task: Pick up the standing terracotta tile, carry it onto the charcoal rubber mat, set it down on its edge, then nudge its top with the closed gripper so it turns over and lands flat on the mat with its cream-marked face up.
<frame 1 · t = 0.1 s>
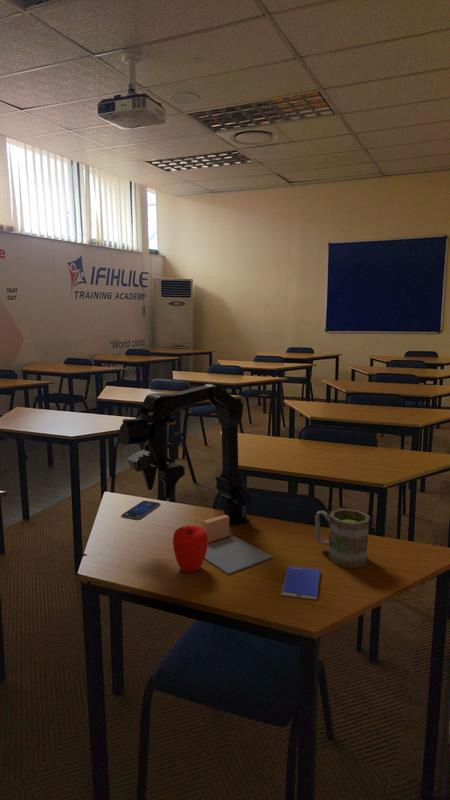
hand: (158, 494, 141), 15 cm above the table, fingers open, 9 cm apart
tile: (216, 538, 147), on the table
apple: (190, 568, 129), on the table
hard drive: (301, 586, 122), on the table
mat: (231, 554, 137), on the table
smartphone: (141, 512, 168), on the table
mug: (339, 556, 137), on the table
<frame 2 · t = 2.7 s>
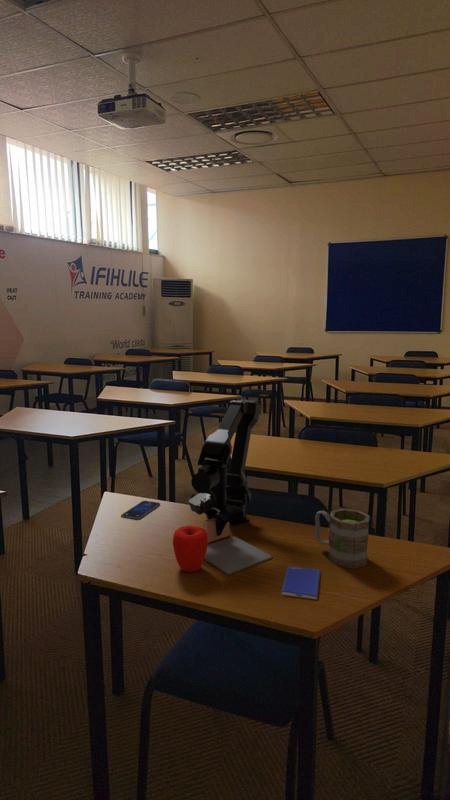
hand: (216, 534, 147), 1 cm above the table, fingers closed on tile, 2 cm apart
tile: (216, 538, 147), on the table, touching gripper
everything else where it was.
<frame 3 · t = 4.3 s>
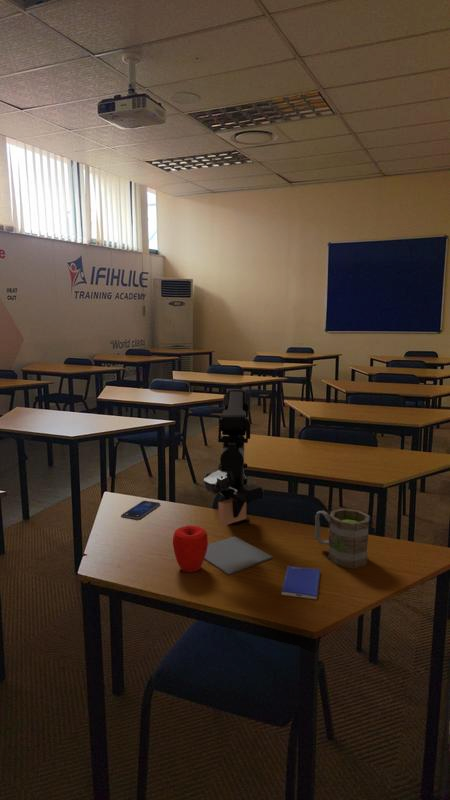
hand: (232, 515, 137), 10 cm above the table, fingers closed on tile, 2 cm apart
tile: (232, 521, 137), point 9 cm above the table, touching gripper
everything else where it was.
when the fingers open (2 cm above the table, at t = 5.8 s): tile stays where it is, resting on mat.
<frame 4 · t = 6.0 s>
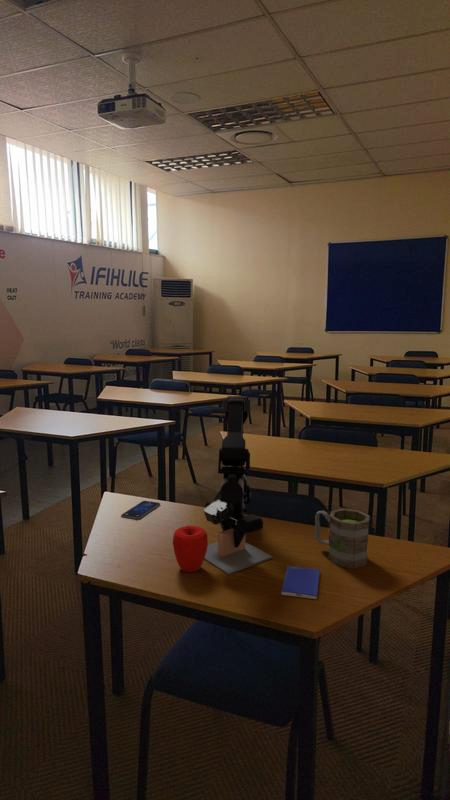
hand: (232, 544, 138), 2 cm above the table, fingers open, 3 cm apart
tile: (231, 551, 138), resting on mat
everything else where it was.
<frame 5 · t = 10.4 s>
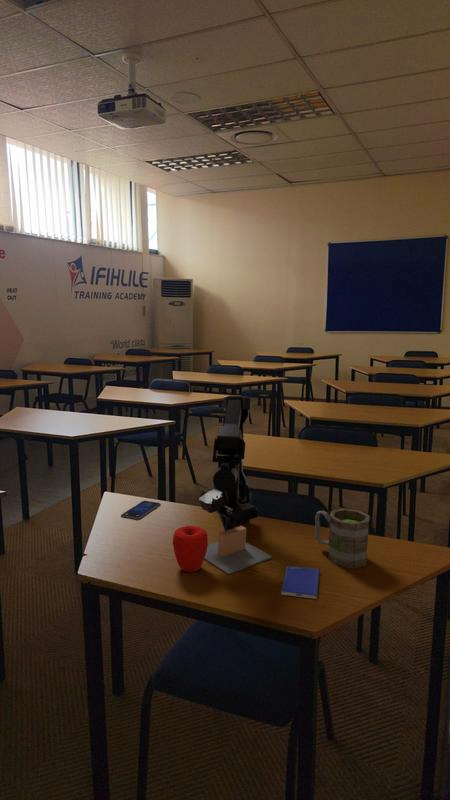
hand: (227, 533, 139), 5 cm above the table, fingers closed
tile: (231, 551, 138), resting on mat, touching gripper
everything else where it was.
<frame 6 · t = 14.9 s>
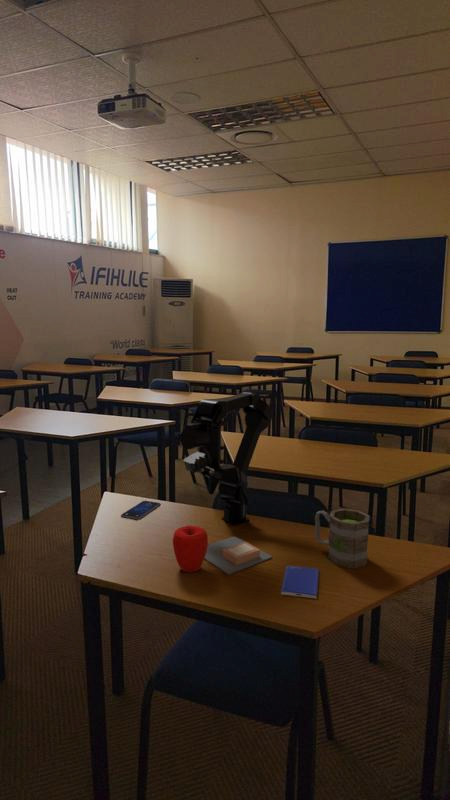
hand: (210, 494, 149), 12 cm above the table, fingers closed
tile: (234, 549, 137), point 1 cm above the table, tilted 90°, touching mat
everything else where it was.
at the end: tile tilted 90°; tile inside the target area on the mat (0.7 cm from its centre), point 1.4 cm above the mat's base; the gripper is holding nothing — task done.
